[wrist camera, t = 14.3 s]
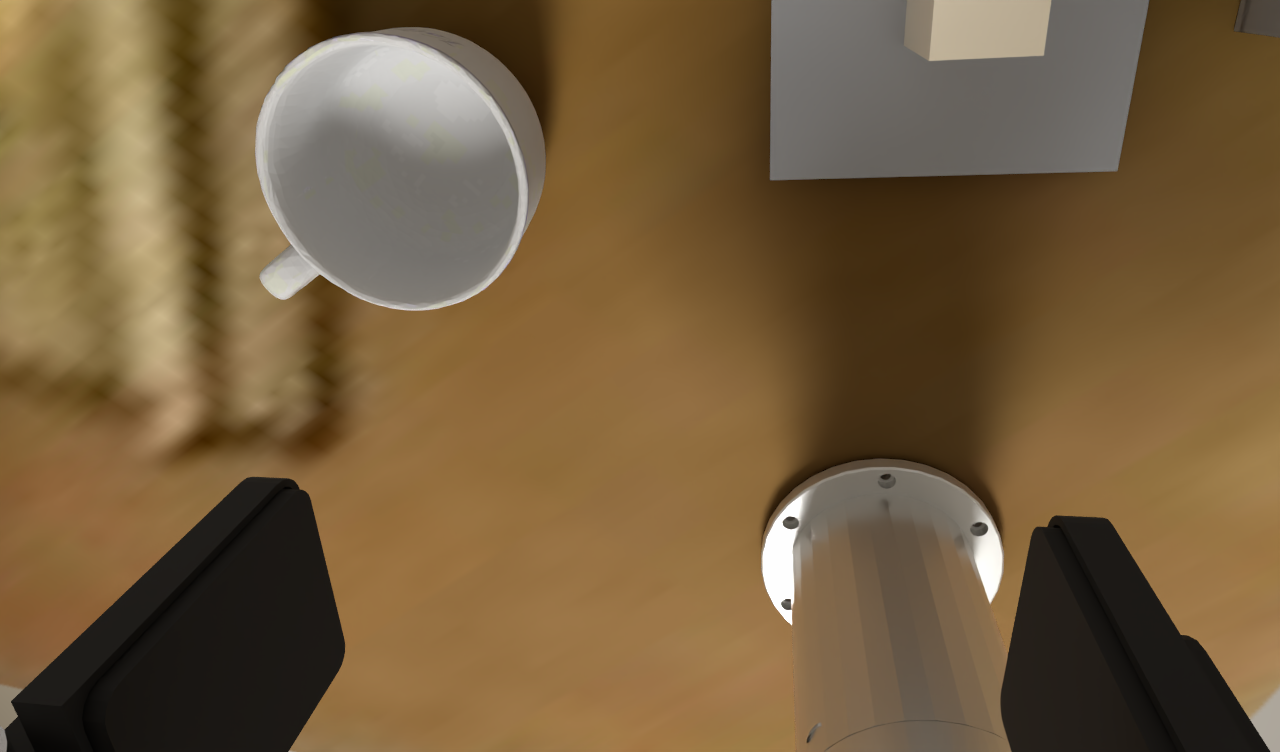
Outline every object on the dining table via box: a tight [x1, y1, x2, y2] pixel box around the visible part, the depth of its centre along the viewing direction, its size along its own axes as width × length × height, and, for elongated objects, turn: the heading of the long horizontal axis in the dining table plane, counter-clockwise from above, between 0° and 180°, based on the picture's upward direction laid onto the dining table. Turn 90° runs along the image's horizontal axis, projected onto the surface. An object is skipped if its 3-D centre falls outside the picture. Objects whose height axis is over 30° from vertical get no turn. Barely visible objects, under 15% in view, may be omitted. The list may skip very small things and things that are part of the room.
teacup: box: [255, 27, 546, 310], centre depth 36 cm, size 14×11×8 cm
